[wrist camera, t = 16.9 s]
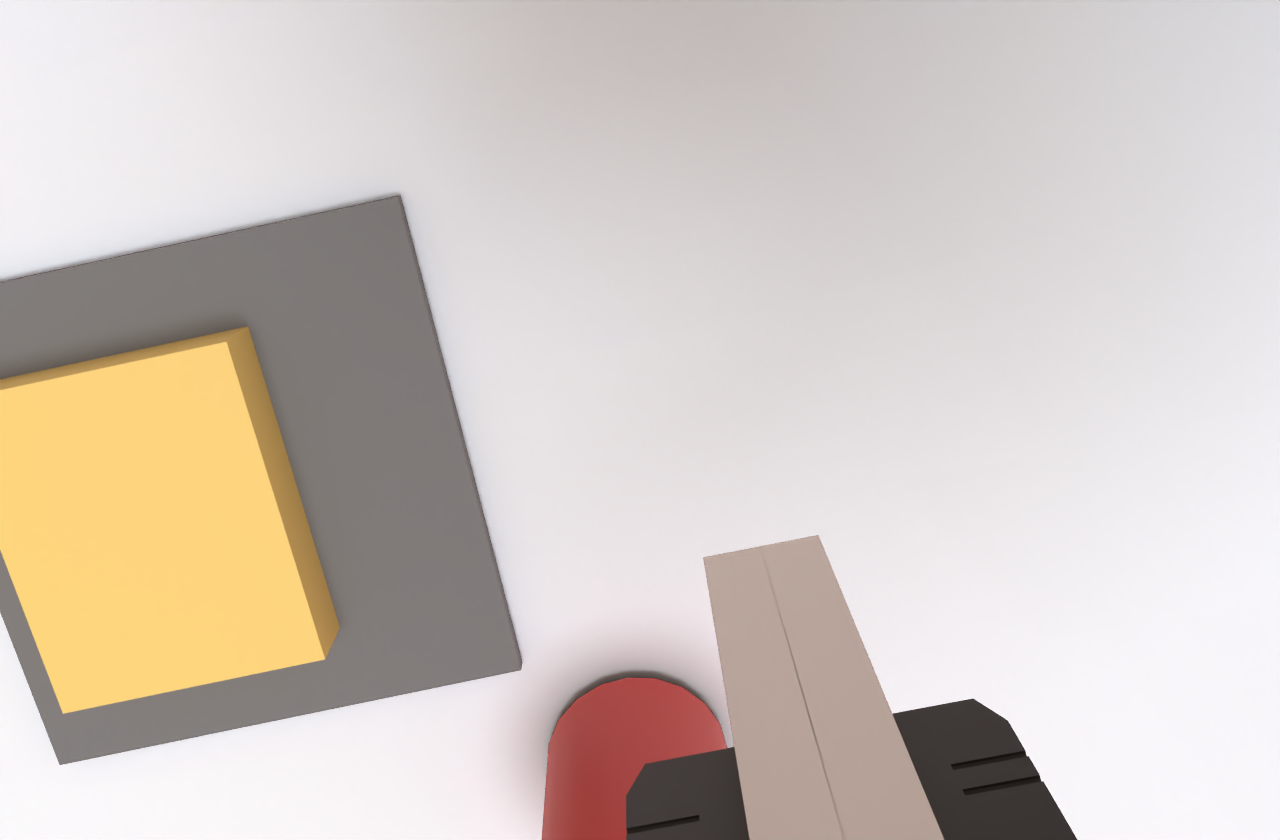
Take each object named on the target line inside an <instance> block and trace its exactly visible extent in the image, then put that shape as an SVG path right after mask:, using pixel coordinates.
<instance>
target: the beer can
mask: <svg viewBox="0 0 1280 840" xmlns="http://www.w3.org/2000/svg"><path fill="white" fill-rule="evenodd" d="M726 748H727V746H726V742H725V739H724V735H723V732H722V728H721V725H720V723H719V722H718V720H717V719H716V718H715V716H714V715H713V713H712V712H711V711H710V709H709V708H708V707H707V705H706V704H705V703H704V702H703V701H701V700H700V699H698V698H697V697H696V696H694V695H693V694H691V693H690V692H689V691H687V690H686V689H684V688H683V687H681V686H678V685H674V684H671V683H668V682H665V681H662V680H659V679H656V678H629V677H628V678H624V679H620V680H616V681H613V682H609V683H605V684H601V685H599V686H598V687H596V688H594V689H593V690H591V691H590V692H588V693H586V694H585V695H583V696H581V697H580V698H578V699H577V700H575V702H574V703H573V704H572V705H571V706H570V707H569V709H568V710H567V711H566V712H565V713H564V714H563V715H562V717H561V718H560V719H559V720H558V723H557V725H556V727H555V730H554V732H553V735H552V737H551V740H550V742H549V748H548V762H547V775H546V788H545V802H544V815H543V828H542V840H626V835H627V830H626V795H627V793H628V791H629V790H630V788H631V786H632V785H633V783H634V781H635V780H636V778H637V776H638V775H639V773H640V771H641V770H642V768H643V766H644V765H645V764H646V763H652V762H657V761H662V760H668V759H673V758H678V757H684V756H689V755H694V754H700V753H705V752H710V751H716V750H721V749H726Z"/></svg>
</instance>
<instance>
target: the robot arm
mask: <svg viewBox="0 0 1280 840" xmlns="http://www.w3.org/2000/svg"><path fill="white" fill-rule="evenodd" d="M703 559H704V565H705V571H706V577H707V583H708V589H709V595H710V601H711V608H712V614H713V620H714V626H715V632H716V638H717V644H718V650H719V656H720V662H721V668H722V674H723V681H724V687H725V693H726V699H727V705H728V711H729V717H730V723H731V729H732V735H733V741H734V747H732V748H726V749H721V750H716V751H710V752H705V753H700V754H694V755H689V756H684V757H678V758H673V759H668V760H662V761H657V762H652V763H646V764H645V765H644V766H643V768H642V770H641V771H640V773H639V775H638V776H637V778H636V780H635V781H634V783H633V785H632V786H631V788H630V790H629V791H628V793H627V795H626V830H627V835H626V840H1077V838H1076V837H1075V835H1074V833H1073V832H1072V830H1071V828H1070V826H1069V825H1068V823H1067V821H1066V820H1065V818H1064V816H1063V814H1062V813H1061V811H1060V809H1059V808H1058V806H1057V804H1056V802H1055V801H1054V799H1053V797H1052V796H1051V794H1050V792H1049V790H1048V789H1047V787H1046V785H1045V784H1044V782H1041V779H1040V775H1039V773H1038V772H1037V770H1036V768H1035V767H1034V765H1033V763H1032V761H1031V760H1030V758H1029V756H1028V757H1027V756H1026V752H1025V749H1024V748H1023V746H1022V744H1021V743H1020V741H1019V739H1018V737H1017V736H1016V734H1015V732H1014V731H1013V729H1012V727H1011V725H1010V724H1009V722H1008V721H1007V720H1006V719H1004V718H1003V717H1001V716H1000V715H998V714H996V713H995V712H993V711H992V710H990V709H989V708H987V707H985V706H984V705H982V704H981V703H979V702H978V701H976V700H974V699H968V700H963V701H958V702H952V703H947V704H942V705H937V706H931V707H926V708H921V709H915V710H910V711H905V712H899V713H894V714H892V712H891V710H890V707H889V705H888V702H887V700H886V698H885V695H884V693H883V690H882V688H881V686H880V683H879V681H878V678H877V676H876V674H875V671H874V669H873V666H872V664H871V661H870V659H869V657H868V654H867V652H866V649H865V647H864V645H863V642H862V640H861V637H860V635H859V632H858V630H857V628H856V625H855V623H854V620H853V618H852V616H851V613H850V611H849V608H848V606H847V603H846V601H845V599H844V596H843V594H842V591H841V589H840V587H839V584H838V582H837V579H836V577H835V574H834V572H833V570H832V567H831V565H830V562H829V560H828V558H827V555H826V553H825V550H824V548H823V545H822V543H821V541H820V538H819V536H818V535H816V536H811V537H806V538H801V539H796V540H791V541H786V542H781V543H775V544H770V545H765V546H760V547H755V548H750V549H745V550H739V551H734V552H729V553H724V554H719V555H714V556H709V557H704V558H703Z"/></svg>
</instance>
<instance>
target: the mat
mask: <svg viewBox="0 0 1280 840" xmlns="http://www.w3.org/2000/svg"><path fill="white" fill-rule="evenodd" d="M247 326H248V328H249V331H250V334H251V337H252V341H253V344H254V347H255V351H256V354H257V357H258V360H259V364H260V367H261V370H262V374H263V377H264V380H265V383H266V387H267V390H268V393H269V396H270V400H271V403H272V406H273V410H274V413H275V416H276V419H277V423H278V426H279V429H280V433H281V436H282V439H283V442H284V446H285V449H286V452H287V456H288V459H289V462H290V465H291V469H292V472H293V475H294V478H295V482H296V485H297V488H298V492H299V495H300V498H301V501H302V505H303V508H304V511H305V515H306V518H307V521H308V524H309V528H310V531H311V534H312V538H313V541H314V544H315V547H316V551H317V554H318V557H319V560H320V564H321V567H322V570H323V574H324V577H325V580H326V583H327V587H328V590H329V593H330V597H331V600H332V603H333V606H334V610H335V613H336V616H337V620H338V623H339V626H340V629H339V631H338V633H337V635H336V638H335V640H334V642H333V644H332V646H331V648H330V650H329V652H328V655H327V657H326V659H325V660H320V661H315V662H310V663H306V664H301V665H296V666H291V667H286V668H281V669H277V670H272V671H267V672H262V673H257V674H252V675H248V676H243V677H238V678H233V679H228V680H224V681H219V682H214V683H209V684H204V685H199V686H195V687H190V688H185V689H180V690H175V691H170V692H166V693H161V694H156V695H151V696H146V697H141V698H137V699H132V700H127V701H122V702H117V703H112V704H108V705H103V706H98V707H93V708H88V709H83V710H79V711H74V712H69V713H64V714H63V713H62V710H61V707H60V705H59V702H58V699H57V697H56V694H55V692H54V689H53V686H52V684H51V681H50V679H49V676H48V673H47V671H46V668H45V665H44V663H43V660H42V658H41V655H40V652H39V650H38V647H37V645H36V642H35V639H34V637H33V634H32V631H31V629H30V626H29V624H28V621H27V618H26V616H25V613H24V611H23V608H22V605H21V603H20V600H19V597H18V595H17V592H16V590H15V587H14V584H13V582H12V579H11V577H10V574H9V571H8V569H7V566H6V564H5V561H4V558H3V556H2V553H1V550H0V612H1V615H2V617H3V620H4V623H5V625H6V628H7V630H8V633H9V636H10V638H11V641H12V643H13V646H14V648H15V651H16V654H17V656H18V659H19V661H20V664H21V666H22V669H23V672H24V674H25V677H26V679H27V682H28V684H29V687H30V690H31V692H32V695H33V697H34V700H35V702H36V705H37V708H38V710H39V713H40V715H41V718H42V720H43V723H44V726H45V728H46V731H47V733H48V736H49V738H50V741H51V744H52V746H53V749H54V751H55V754H56V757H57V759H58V762H59V764H60V765H62V764H67V763H72V762H77V761H82V760H87V759H91V758H96V757H101V756H106V755H111V754H116V753H121V752H125V751H130V750H135V749H140V748H145V747H150V746H155V745H159V744H164V743H169V742H174V741H179V740H184V739H189V738H193V737H198V736H203V735H208V734H213V733H218V732H223V731H227V730H232V729H237V728H242V727H247V726H252V725H257V724H261V723H266V722H271V721H276V720H281V719H286V718H291V717H295V716H300V715H305V714H310V713H315V712H320V711H325V710H329V709H334V708H339V707H344V706H349V705H354V704H359V703H363V702H368V701H373V700H378V699H383V698H388V697H393V696H397V695H402V694H407V693H412V692H417V691H422V690H427V689H431V688H436V687H441V686H446V685H451V684H456V683H461V682H465V681H470V680H475V679H480V678H485V677H490V676H495V675H499V674H504V673H509V672H514V671H519V670H521V667H522V660H521V656H520V652H519V648H518V644H517V641H516V637H515V633H514V629H513V625H512V621H511V618H510V614H509V610H508V606H507V602H506V598H505V595H504V591H503V587H502V583H501V579H500V576H499V572H498V568H497V564H496V560H495V556H494V553H493V549H492V545H491V541H490V537H489V533H488V530H487V526H486V522H485V518H484V514H483V511H482V507H481V503H480V499H479V495H478V491H477V488H476V484H475V480H474V476H473V472H472V468H471V465H470V461H469V457H468V453H467V449H466V445H465V442H464V438H463V434H462V430H461V426H460V423H459V419H458V415H457V411H456V407H455V403H454V400H453V396H452V392H451V388H450V384H449V380H448V377H447V373H446V369H445V365H444V361H443V358H442V354H441V350H440V346H439V342H438V338H437V335H436V331H435V327H434V323H433V319H432V315H431V312H430V308H429V304H428V300H427V296H426V292H425V289H424V285H423V281H422V277H421V273H420V270H419V266H418V262H417V258H416V254H415V250H414V247H413V243H412V239H411V235H410V231H409V227H408V224H407V220H406V216H405V212H404V208H403V205H402V201H401V197H400V196H396V197H391V198H386V199H382V200H377V201H373V202H368V203H363V204H359V205H354V206H350V207H345V208H340V209H336V210H331V211H326V212H322V213H317V214H313V215H308V216H303V217H299V218H294V219H289V220H285V221H280V222H276V223H271V224H266V225H262V226H257V227H253V228H248V229H243V230H239V231H234V232H229V233H225V234H220V235H216V236H211V237H206V238H202V239H197V240H193V241H188V242H183V243H179V244H174V245H169V246H165V247H160V248H156V249H151V250H146V251H142V252H137V253H133V254H128V255H123V256H119V257H114V258H109V259H105V260H100V261H96V262H91V263H86V264H82V265H77V266H73V267H68V268H63V269H59V270H54V271H49V272H45V273H40V274H36V275H31V276H26V277H22V278H17V279H13V280H8V281H3V282H0V379H5V378H9V377H14V376H19V375H23V374H28V373H33V372H37V371H42V370H47V369H51V368H56V367H61V366H65V365H70V364H75V363H79V362H84V361H89V360H93V359H98V358H103V357H107V356H112V355H117V354H121V353H126V352H131V351H135V350H140V349H145V348H149V347H154V346H159V345H163V344H168V343H173V342H177V341H182V340H187V339H191V338H196V337H200V336H205V335H210V334H214V333H219V332H224V331H228V330H233V329H238V328H242V327H247Z"/></svg>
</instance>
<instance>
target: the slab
mask: <svg viewBox="0 0 1280 840" xmlns="http://www.w3.org/2000/svg"><path fill="white" fill-rule="evenodd" d="M0 550H1V553H2V556H3V558H4V561H5V564H6V566H7V569H8V571H9V574H10V577H11V579H12V582H13V584H14V587H15V590H16V592H17V595H18V597H19V600H20V603H21V605H22V608H23V611H24V613H25V616H26V618H27V621H28V624H29V626H30V629H31V631H32V634H33V637H34V639H35V642H36V645H37V647H38V650H39V652H40V655H41V658H42V660H43V663H44V665H45V668H46V671H47V673H48V676H49V679H50V681H51V684H52V686H53V689H54V692H55V694H56V697H57V699H58V702H59V705H60V707H61V710H62V713H63V714H64V713H69V712H74V711H79V710H83V709H88V708H93V707H98V706H103V705H108V704H112V703H117V702H122V701H127V700H132V699H137V698H141V697H146V696H151V695H156V694H161V693H166V692H170V691H175V690H180V689H185V688H190V687H195V686H199V685H204V684H209V683H214V682H219V681H224V680H228V679H233V678H238V677H243V676H248V675H252V674H257V673H262V672H267V671H272V670H277V669H281V668H286V667H291V666H296V665H301V664H306V663H310V662H315V661H320V660H325V659H326V657H327V655H328V652H329V650H330V648H331V646H332V644H333V642H334V640H335V638H336V635H337V633H338V631H339V629H340V626H339V623H338V620H337V616H336V613H335V610H334V606H333V603H332V600H331V597H330V593H329V590H328V587H327V583H326V580H325V577H324V574H323V570H322V567H321V564H320V560H319V557H318V554H317V551H316V547H315V544H314V541H313V538H312V534H311V531H310V528H309V524H308V521H307V518H306V515H305V511H304V508H303V505H302V501H301V498H300V495H299V492H298V488H297V485H296V482H295V478H294V475H293V472H292V469H291V465H290V462H289V459H288V456H287V452H286V449H285V446H284V442H283V439H282V436H281V433H280V429H279V426H278V423H277V419H276V416H275V413H274V410H273V406H272V403H271V400H270V396H269V393H268V390H267V387H266V383H265V380H264V377H263V374H262V370H261V367H260V364H259V360H258V357H257V354H256V351H255V347H254V344H253V341H252V337H251V334H250V331H249V328H248V326H247V327H242V328H238V329H233V330H228V331H224V332H219V333H214V334H210V335H205V336H200V337H196V338H191V339H187V340H182V341H177V342H173V343H168V344H163V345H159V346H154V347H149V348H145V349H140V350H135V351H131V352H126V353H121V354H117V355H112V356H107V357H103V358H98V359H93V360H89V361H84V362H79V363H75V364H70V365H65V366H61V367H56V368H51V369H47V370H42V371H37V372H33V373H28V374H23V375H19V376H14V377H9V378H5V379H0Z"/></svg>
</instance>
